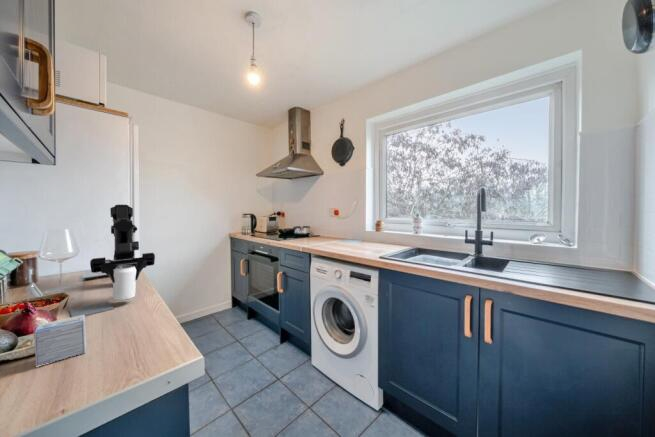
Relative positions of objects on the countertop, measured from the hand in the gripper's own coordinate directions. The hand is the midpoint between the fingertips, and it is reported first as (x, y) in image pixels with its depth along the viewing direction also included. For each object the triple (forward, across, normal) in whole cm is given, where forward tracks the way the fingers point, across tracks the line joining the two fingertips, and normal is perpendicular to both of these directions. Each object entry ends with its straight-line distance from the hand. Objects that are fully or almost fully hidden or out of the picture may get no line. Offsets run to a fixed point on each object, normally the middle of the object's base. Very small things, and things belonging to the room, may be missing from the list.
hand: (125, 280), depth 87 cm
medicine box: (+28, -12, -15) cm, 34 cm away
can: (+4, 0, +6) cm, 7 cm away
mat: (+5, -9, +8) cm, 13 cm away
